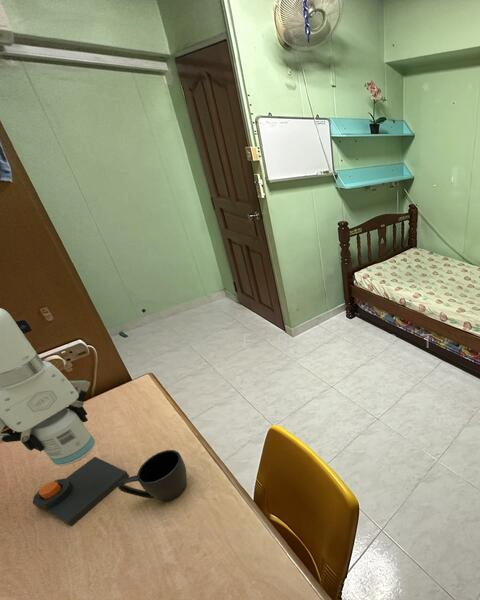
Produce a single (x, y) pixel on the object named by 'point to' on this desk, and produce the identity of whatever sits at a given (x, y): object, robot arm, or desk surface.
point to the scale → (82, 490)
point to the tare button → (49, 490)
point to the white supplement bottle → (64, 437)
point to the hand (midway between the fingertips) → (61, 432)
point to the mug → (159, 477)
